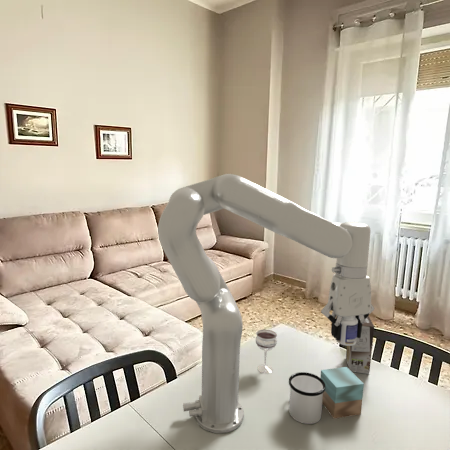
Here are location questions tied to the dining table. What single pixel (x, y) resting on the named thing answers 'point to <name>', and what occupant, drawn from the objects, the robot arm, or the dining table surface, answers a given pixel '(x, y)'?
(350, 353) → the coffee box
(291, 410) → the mug
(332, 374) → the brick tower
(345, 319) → the pill bottle
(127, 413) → the dining table surface
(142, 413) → the dining table surface
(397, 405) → the dining table surface
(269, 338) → the wineglass
